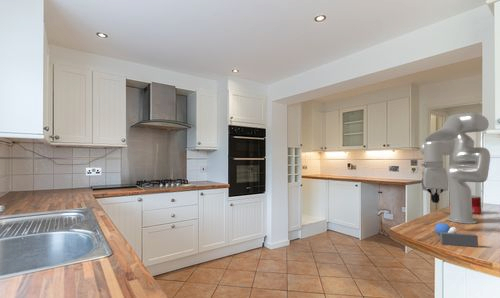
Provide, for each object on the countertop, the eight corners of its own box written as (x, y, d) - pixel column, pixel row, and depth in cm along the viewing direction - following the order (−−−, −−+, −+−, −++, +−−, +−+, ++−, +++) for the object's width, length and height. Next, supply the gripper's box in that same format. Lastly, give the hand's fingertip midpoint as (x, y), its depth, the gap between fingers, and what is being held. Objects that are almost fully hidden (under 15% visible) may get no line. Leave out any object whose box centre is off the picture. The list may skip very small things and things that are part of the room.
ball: (447, 240, 111) (443, 239, 116) (456, 229, 111) (452, 229, 116) (433, 230, 114) (430, 229, 119) (442, 220, 114) (439, 220, 119)
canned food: (484, 214, 156) (483, 196, 156) (469, 214, 158) (468, 196, 158) (476, 212, 163) (475, 195, 164) (461, 211, 165) (461, 194, 165)
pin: (447, 232, 112) (451, 225, 106) (453, 235, 111) (458, 229, 105) (445, 237, 112) (448, 230, 106) (451, 240, 110) (455, 233, 104)
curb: (440, 242, 106) (439, 232, 106) (475, 245, 102) (474, 234, 103) (442, 244, 104) (441, 233, 104) (478, 247, 101) (477, 235, 101)
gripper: (418, 165, 125) (420, 203, 125) (455, 165, 121) (456, 204, 120) (414, 165, 132) (415, 200, 132) (448, 165, 128) (449, 201, 127)
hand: (435, 202), depth 126 cm, fingers closed
